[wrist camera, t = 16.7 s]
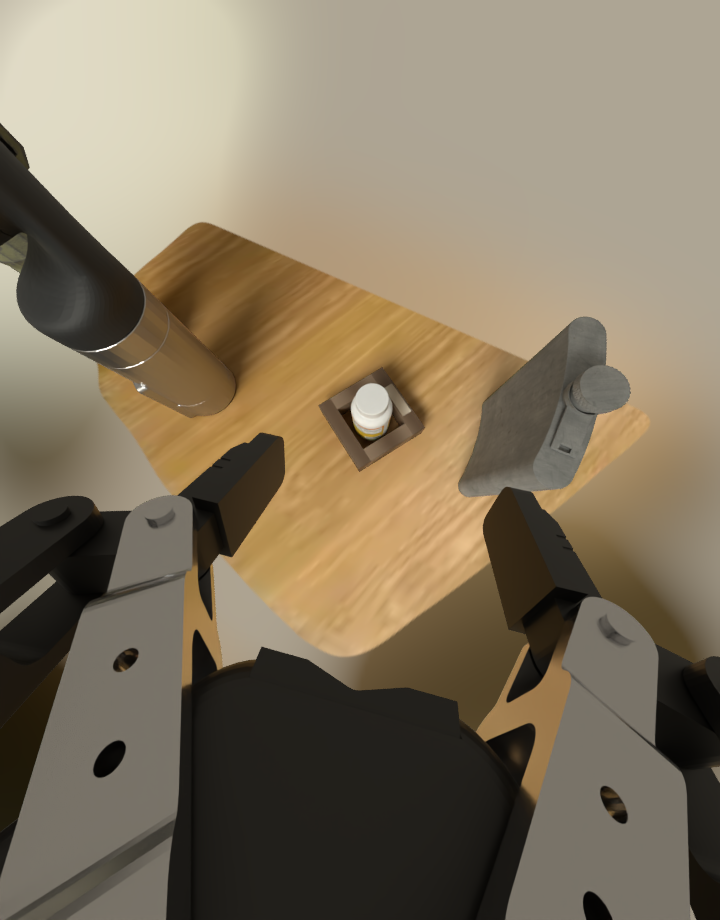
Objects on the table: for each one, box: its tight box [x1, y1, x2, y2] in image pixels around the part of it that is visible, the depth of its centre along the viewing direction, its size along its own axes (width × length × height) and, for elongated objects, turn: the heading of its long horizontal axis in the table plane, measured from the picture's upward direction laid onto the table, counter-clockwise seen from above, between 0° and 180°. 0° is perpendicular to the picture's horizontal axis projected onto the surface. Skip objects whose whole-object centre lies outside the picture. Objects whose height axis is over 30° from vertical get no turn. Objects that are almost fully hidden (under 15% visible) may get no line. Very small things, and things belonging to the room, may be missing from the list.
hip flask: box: [458, 317, 631, 497], centre depth 29 cm, size 16×4×20 cm, turn 160°
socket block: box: [319, 367, 425, 472], centre depth 38 cm, size 11×11×3 cm
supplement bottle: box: [351, 383, 393, 441], centre depth 35 cm, size 5×5×10 cm
